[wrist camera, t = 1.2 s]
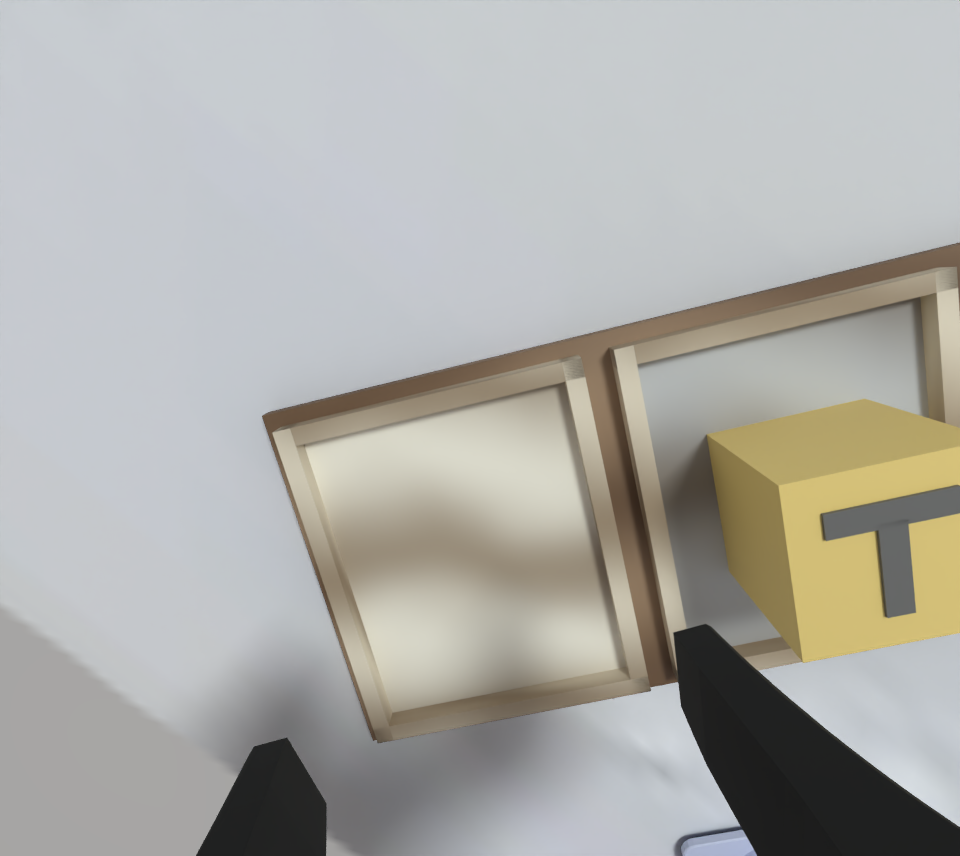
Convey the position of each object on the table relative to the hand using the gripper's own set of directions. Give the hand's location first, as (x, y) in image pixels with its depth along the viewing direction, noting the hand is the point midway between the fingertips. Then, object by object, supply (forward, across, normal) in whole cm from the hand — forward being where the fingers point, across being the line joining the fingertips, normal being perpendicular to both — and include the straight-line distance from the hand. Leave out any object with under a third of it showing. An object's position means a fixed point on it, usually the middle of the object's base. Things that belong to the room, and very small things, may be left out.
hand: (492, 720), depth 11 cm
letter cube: (+8, -11, +3) cm, 14 cm away
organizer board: (+9, -10, +4) cm, 14 cm away
